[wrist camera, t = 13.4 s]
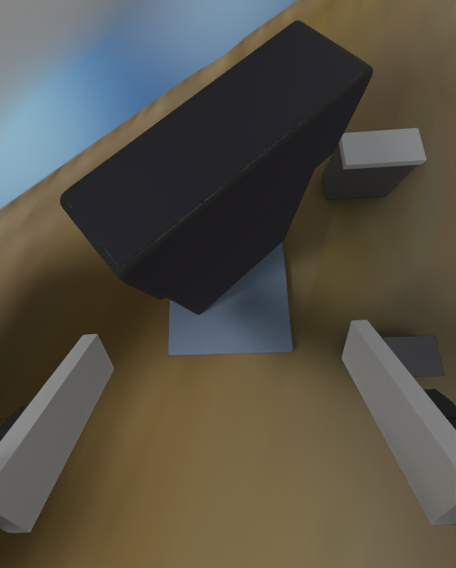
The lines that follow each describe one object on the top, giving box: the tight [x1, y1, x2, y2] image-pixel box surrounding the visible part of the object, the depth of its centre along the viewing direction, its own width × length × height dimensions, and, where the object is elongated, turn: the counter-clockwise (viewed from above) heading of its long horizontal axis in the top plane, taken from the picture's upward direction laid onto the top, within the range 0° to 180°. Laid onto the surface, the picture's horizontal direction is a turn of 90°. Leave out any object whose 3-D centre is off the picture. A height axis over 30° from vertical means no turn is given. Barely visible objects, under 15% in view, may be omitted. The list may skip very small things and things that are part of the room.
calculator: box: [60, 20, 373, 315], centre depth 15 cm, size 11×4×15 cm, turn 132°
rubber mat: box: [168, 241, 293, 355], centre depth 22 cm, size 11×16×1 cm
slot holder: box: [323, 128, 444, 377], centre depth 19 cm, size 6×20×5 cm, turn 2°
